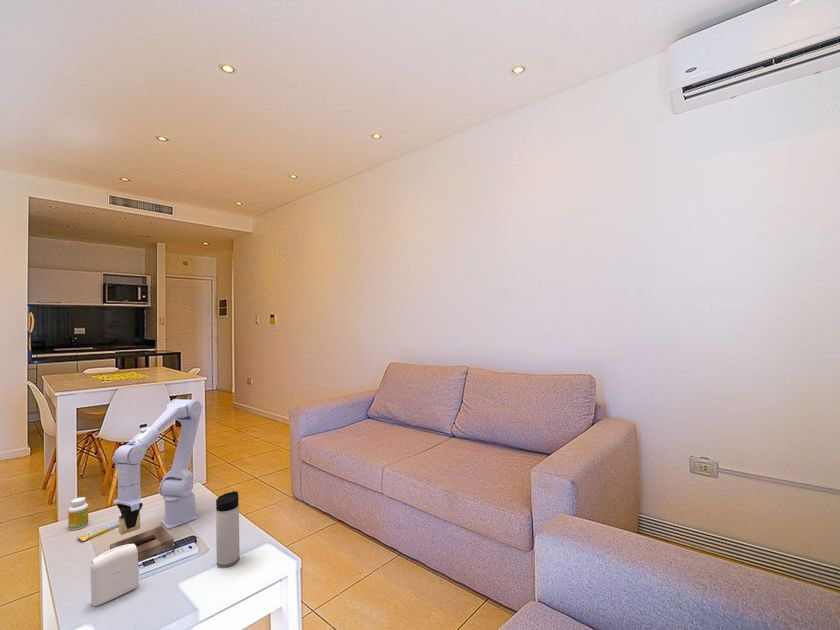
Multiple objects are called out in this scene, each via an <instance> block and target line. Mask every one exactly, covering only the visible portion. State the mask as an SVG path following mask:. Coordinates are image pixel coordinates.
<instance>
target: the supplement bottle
mask: <svg viewBox="0 0 840 630" xmlns="http://www.w3.org/2000/svg"><path fill="white" fill-rule="evenodd" d="M87 526H89V504H88V503H87V502H86V497H83V496H81V497H77V498H74V499H72V500H71V501H70V507H68V530H69V531H77V530H81V529H84V528H85V527H87Z"/></svg>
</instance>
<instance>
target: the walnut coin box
mask: <svg viewBox="0 0 840 630" xmlns="http://www.w3.org/2000/svg"><path fill="white" fill-rule="evenodd" d="M127 544H135V545H136V548H137V550H138V562H140V561H143V560H145V559H147V558H149V557H151V556H153V555H154V554H157V553H159V552H161V551H165V550H167V549H170V548H172V547H174V548H175V538H174V537H173V536H172V535H171V534H170V533H169V532H168V531H167V530H166V529H165V528H164V527H163V525H160V526H158V527H155V528H151V529H150V530H147V531H144V532H141V533H138V534H135V535H133V536H130V537H128V538H125V539H121V540H119V541H117V542H116V541H115V542H112V543H110V544H109V550H111V549H113V548H116V547H119V546H123V545H127Z"/></svg>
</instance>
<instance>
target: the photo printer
mask: <svg viewBox="0 0 840 630" xmlns="http://www.w3.org/2000/svg"><path fill="white" fill-rule="evenodd" d="M139 581H140V580H139V566H138V550H137V548H136V545H135V544H127V545H123V546H119V547H116V548H113V549H111V550H110V549H109V550H107V551H105V552H102V553H101V554H98V556H96V557H94V558H93V559H92V560H91V566H90V598H91V599H90V600H91V601H90V602H91V603H90V604H91V606H93V607H99V606H100V605H103V604H104V603H107V602H109V601H112V600H115V598H118V597H120V596H122V595H125V594H126V593H128V592H130V591H133V590H135V589H137V588H138V587H139V584H140V583H139Z"/></svg>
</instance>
